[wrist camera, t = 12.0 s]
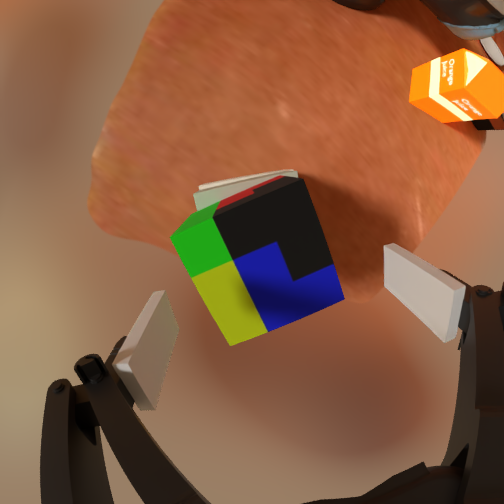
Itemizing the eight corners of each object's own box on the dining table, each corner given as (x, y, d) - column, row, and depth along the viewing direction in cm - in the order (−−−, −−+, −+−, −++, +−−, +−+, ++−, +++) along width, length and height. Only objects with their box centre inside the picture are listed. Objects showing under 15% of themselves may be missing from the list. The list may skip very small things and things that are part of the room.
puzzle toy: (312, 259, 30) (344, 299, 21) (231, 293, 31) (230, 346, 21) (280, 175, 27) (303, 178, 18) (191, 213, 28) (169, 237, 19)
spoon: (427, -35, 23) (433, -40, 19) (501, 61, 31) (510, 59, 28) (412, -32, 24) (419, -38, 21) (493, 71, 32) (502, 69, 29)
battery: (466, 115, 36) (500, 112, 27) (475, 97, 35) (507, 93, 25) (477, 131, 37) (510, 130, 27) (485, 112, 36) (516, 110, 26)
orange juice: (442, 123, 37) (523, 118, 18) (408, 102, 36) (491, 82, 17) (445, 90, 35) (520, 75, 16) (412, 68, 34) (487, 38, 14)
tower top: (286, 170, 33) (296, 170, 27) (301, 252, 36) (313, 268, 31) (200, 189, 33) (193, 194, 27) (221, 270, 36) (219, 289, 31)
